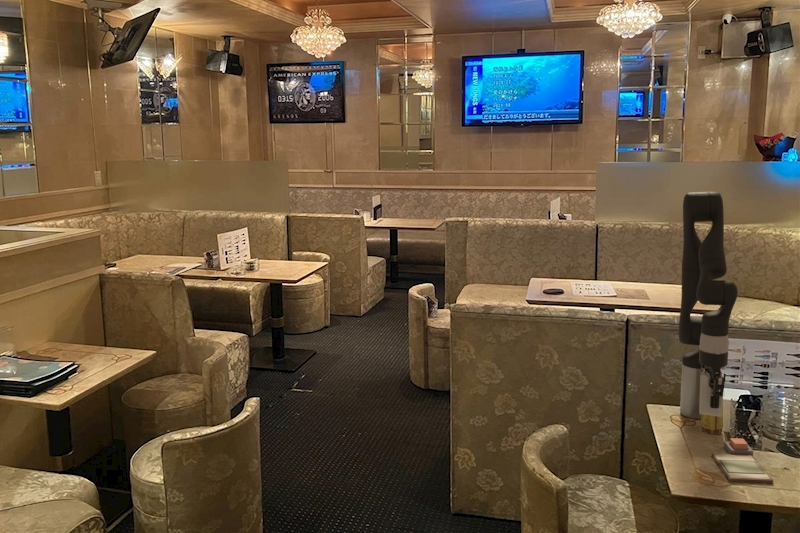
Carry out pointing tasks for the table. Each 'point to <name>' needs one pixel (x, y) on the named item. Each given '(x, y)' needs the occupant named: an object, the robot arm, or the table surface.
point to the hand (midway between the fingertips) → (711, 403)
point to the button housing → (737, 450)
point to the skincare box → (708, 398)
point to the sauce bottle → (712, 424)
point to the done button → (738, 443)
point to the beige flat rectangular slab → (741, 468)
